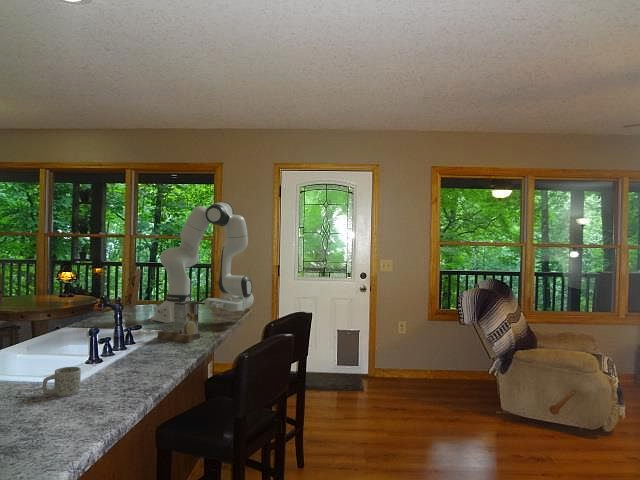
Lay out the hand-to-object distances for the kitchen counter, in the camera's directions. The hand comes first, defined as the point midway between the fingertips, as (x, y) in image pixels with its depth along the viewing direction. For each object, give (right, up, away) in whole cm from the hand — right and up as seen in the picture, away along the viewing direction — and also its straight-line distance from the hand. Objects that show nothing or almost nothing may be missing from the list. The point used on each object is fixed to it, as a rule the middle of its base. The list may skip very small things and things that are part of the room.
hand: (214, 305), depth 233 cm
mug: (-22, -12, -97) cm, 100 cm away
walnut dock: (-9, -11, -21) cm, 25 cm away
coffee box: (-8, -12, -20) cm, 25 cm away
